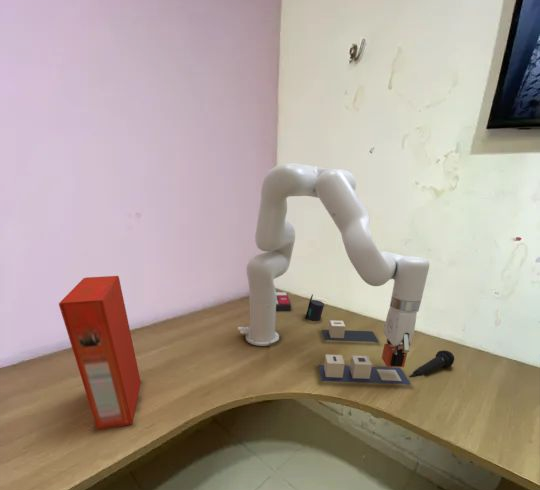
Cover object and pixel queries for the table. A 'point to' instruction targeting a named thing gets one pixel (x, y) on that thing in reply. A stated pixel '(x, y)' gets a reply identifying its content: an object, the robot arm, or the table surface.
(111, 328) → the file binder
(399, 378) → the front mat
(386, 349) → the block
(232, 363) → the table surface
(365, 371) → the block
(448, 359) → the microphone
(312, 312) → the speaker
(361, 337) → the back mat
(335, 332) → the block
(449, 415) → the table surface
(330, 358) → the white cube
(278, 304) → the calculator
